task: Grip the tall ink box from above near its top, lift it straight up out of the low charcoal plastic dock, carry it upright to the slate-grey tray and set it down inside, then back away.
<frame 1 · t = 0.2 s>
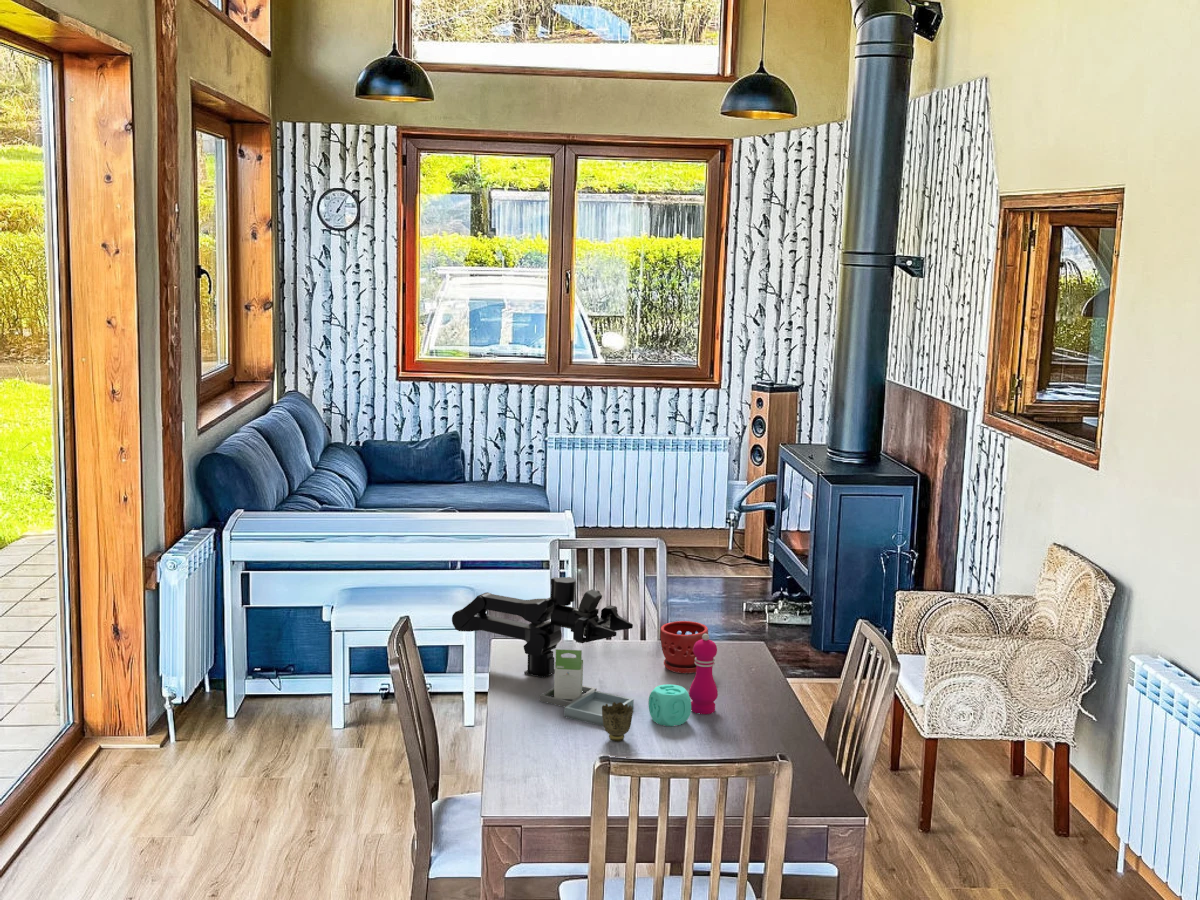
hand: (624, 630, 332), 16 cm above the table, tool horizontal, fingers open, 9 cm apart
dock: (568, 697, 328), on the table
pepper mill: (702, 710, 322), on the table
plant pot: (682, 669, 353), on the table
ink box: (568, 698, 329), resting in dock
tray: (599, 712, 318), on the table
cup: (616, 740, 301), on the table
decorative dice: (669, 721, 315), on the table
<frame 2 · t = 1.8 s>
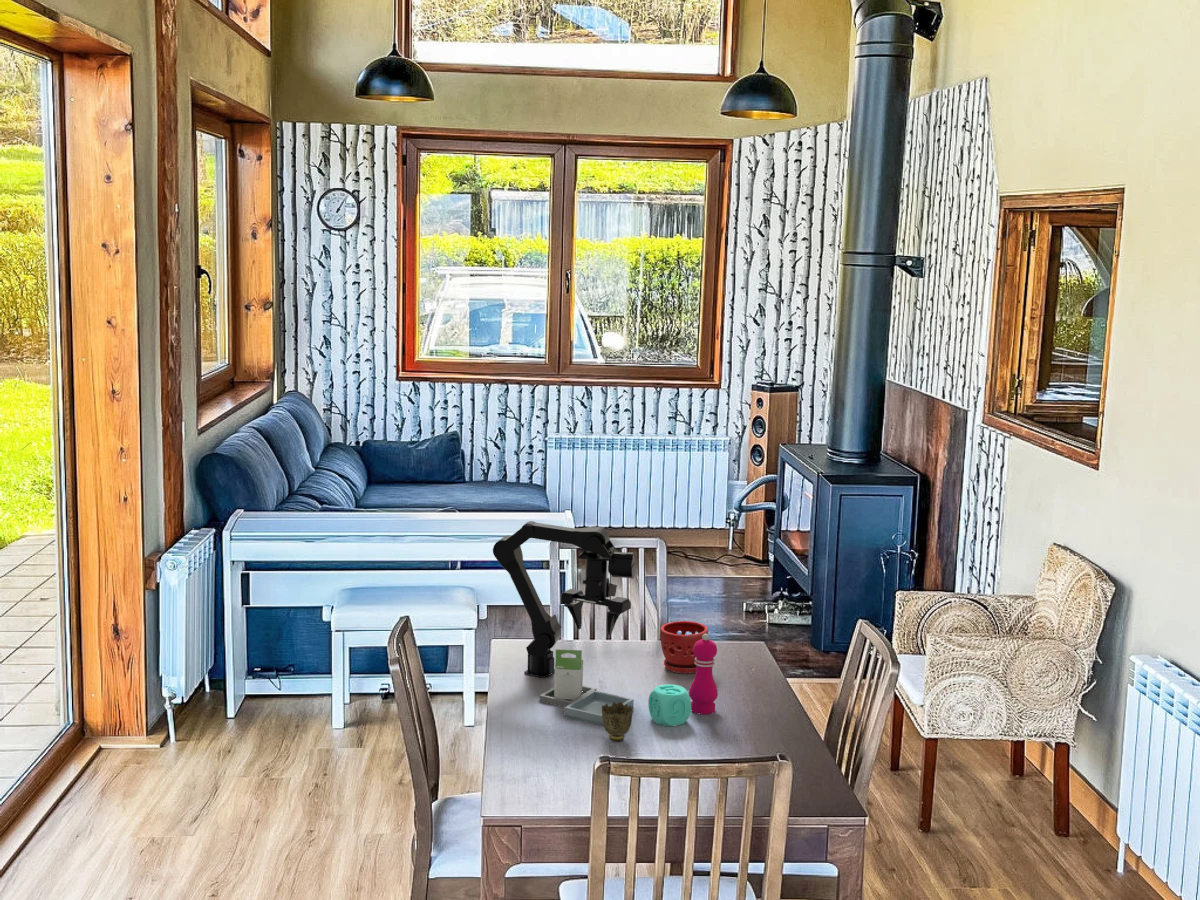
hand: (594, 631, 341), 13 cm above the table, tool pointing down, fingers open, 9 cm apart
nothing on the table moved.
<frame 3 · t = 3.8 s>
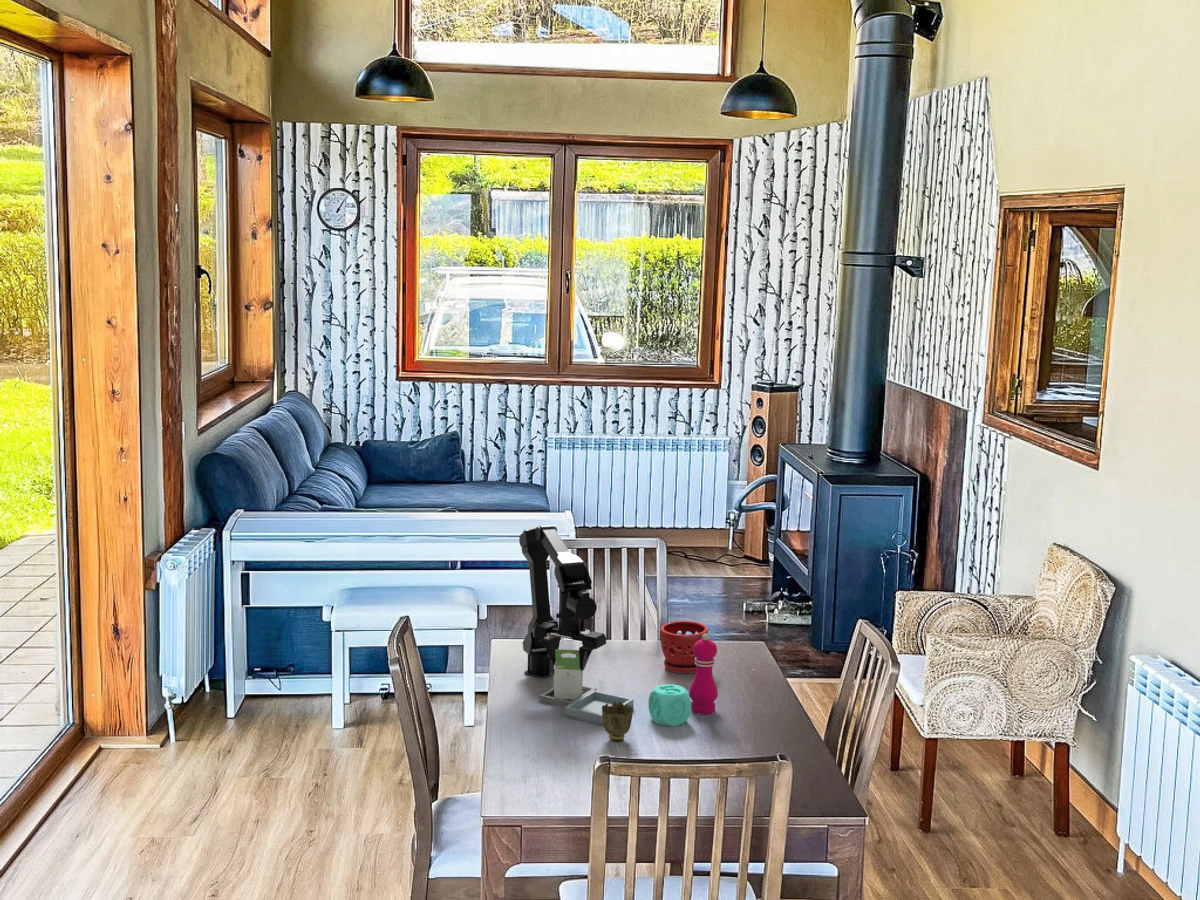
hand: (568, 667, 327), 8 cm above the table, tool pointing down, fingers closed on ink box, 8 cm apart
ink box: (568, 698, 329), resting in dock, touching gripper
everything else where it was.
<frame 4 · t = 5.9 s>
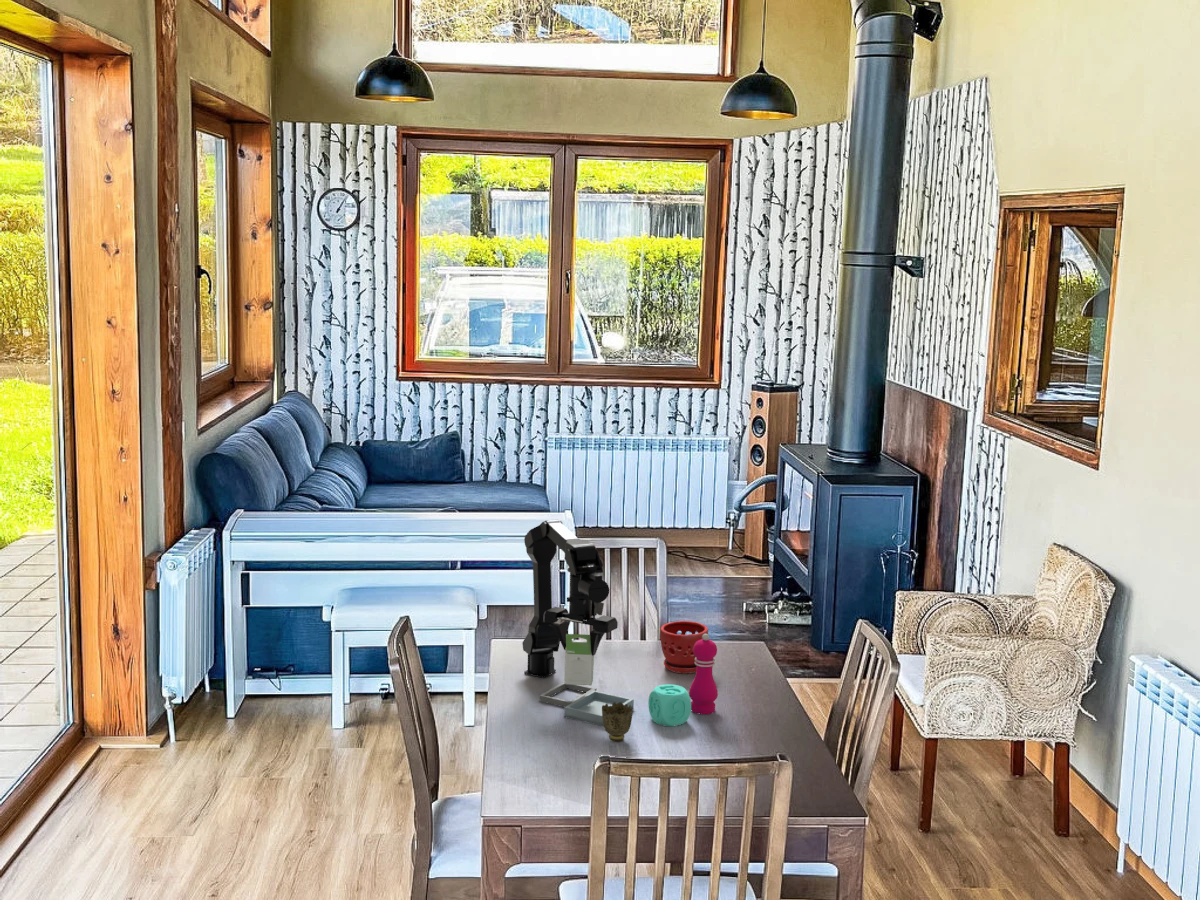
hand: (579, 652, 323), 13 cm above the table, tool pointing down, fingers closed on ink box, 8 cm apart
ink box: (578, 683, 324), point 5 cm above the table, touching gripper
everything else where it was.
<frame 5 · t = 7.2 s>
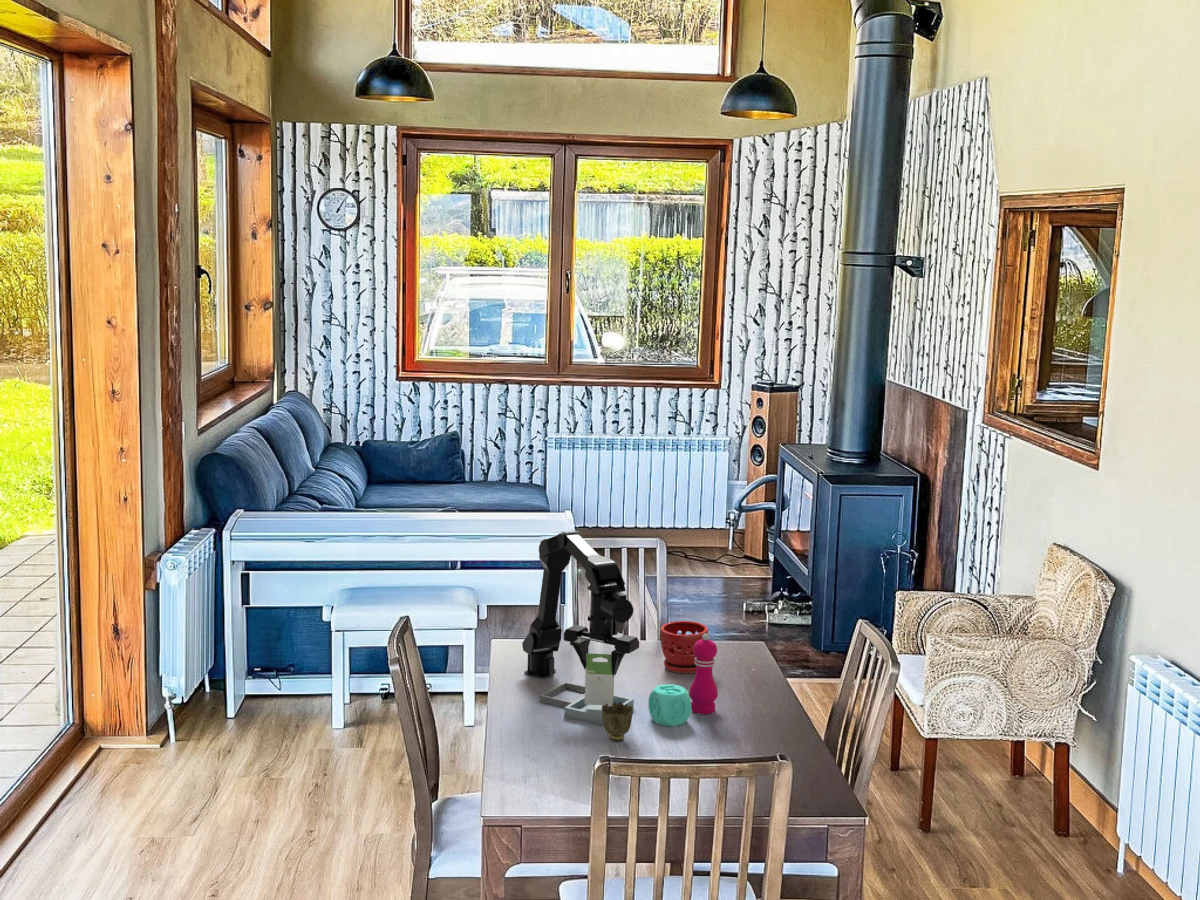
hand: (600, 672, 317), 11 cm above the table, tool pointing down, fingers closed on ink box, 8 cm apart
ink box: (599, 703, 318), point 2 cm above the table, touching gripper
everything else where it was.
when the fingers open (10 cm above the table, at t = 8.4 s): ink box stays where it is, resting on tray.
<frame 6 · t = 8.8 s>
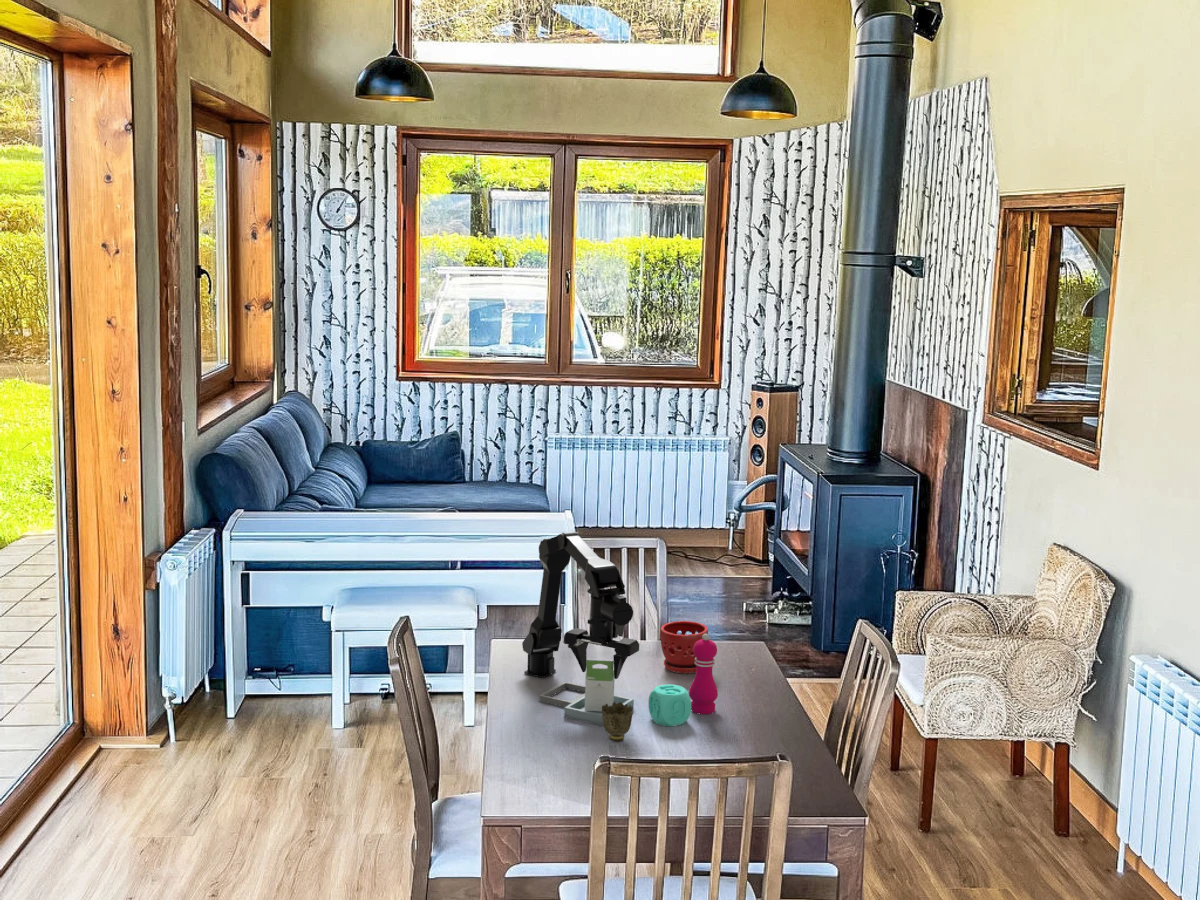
hand: (600, 675, 317), 10 cm above the table, tool pointing down, fingers open, 9 cm apart
ink box: (599, 710, 318), point 1 cm above the table, touching tray
everything else where it was.
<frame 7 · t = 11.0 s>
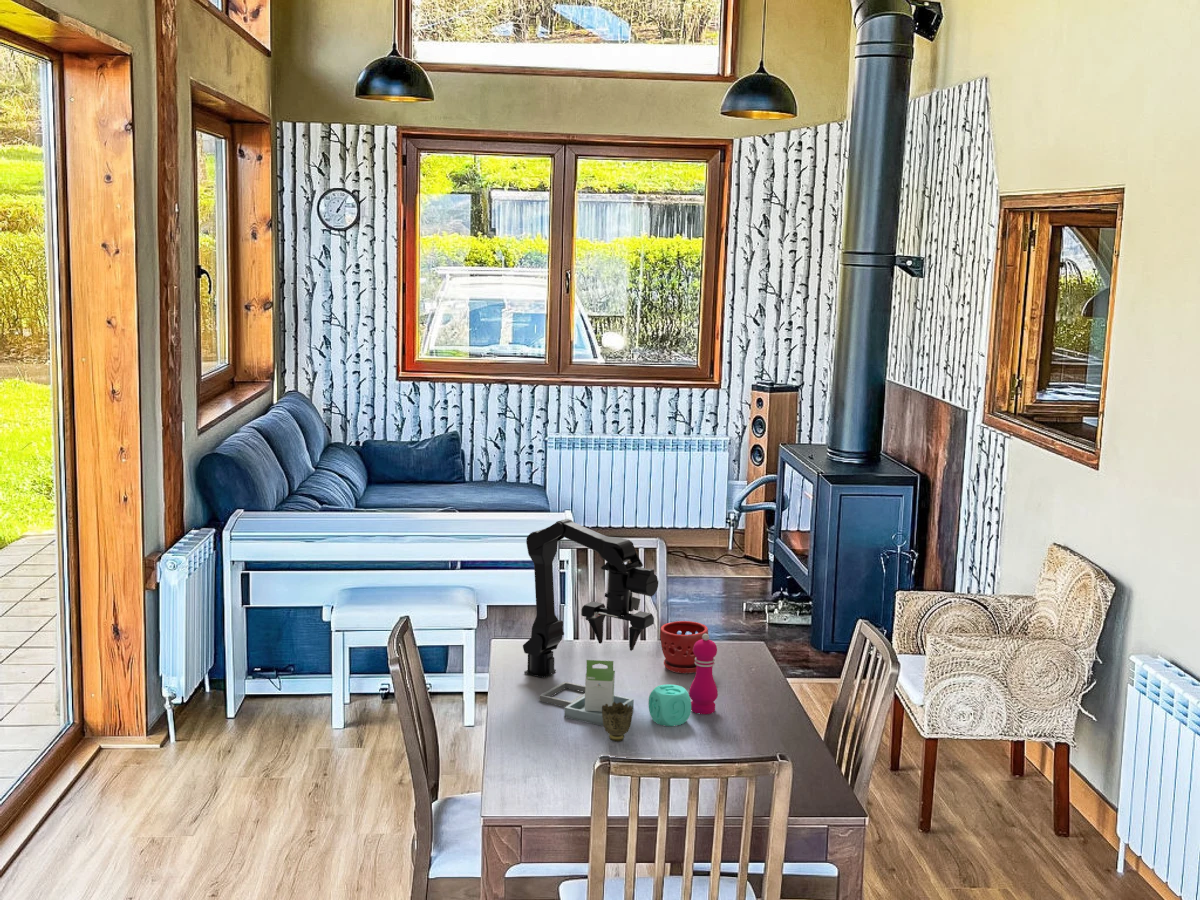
hand: (615, 646, 331), 13 cm above the table, tool pointing down, fingers open, 9 cm apart
nothing on the table moved.
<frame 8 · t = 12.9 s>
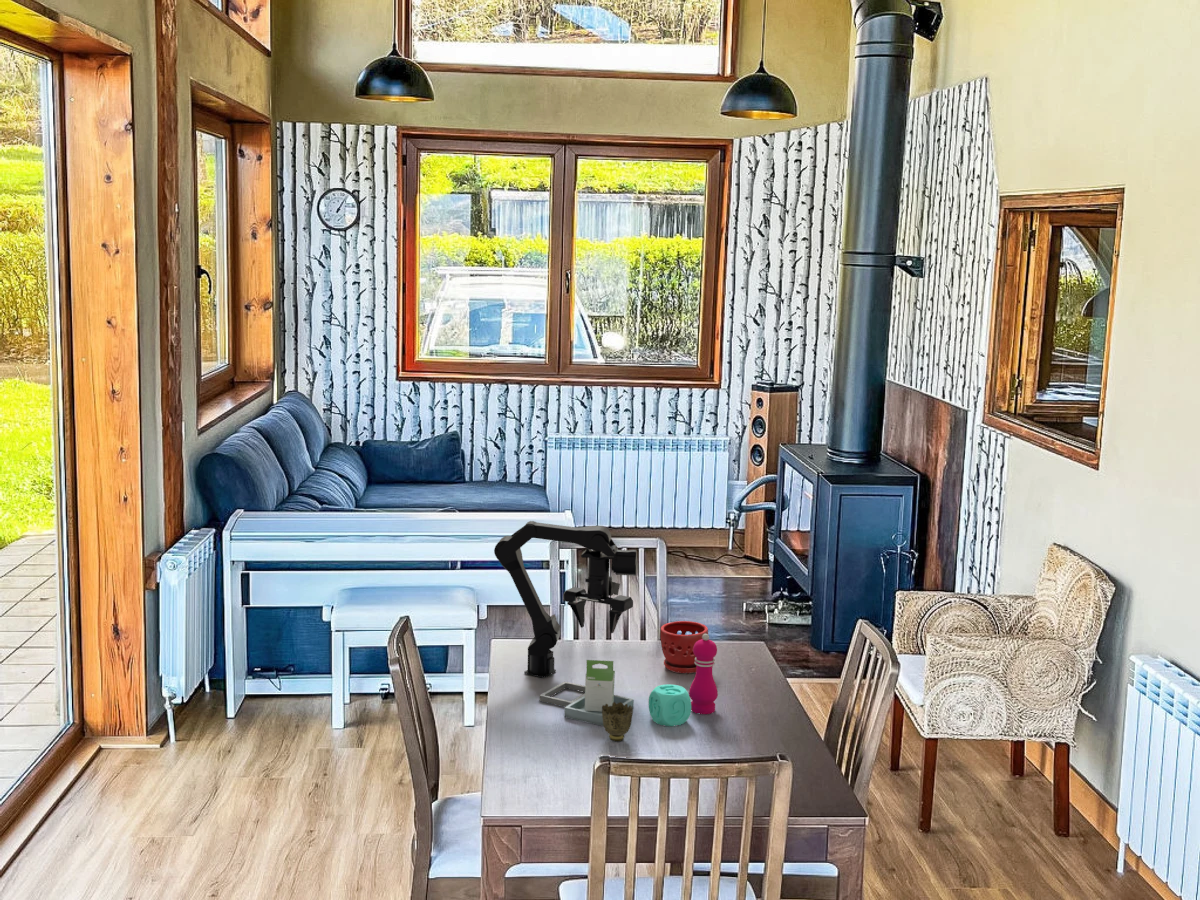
hand: (597, 630, 343), 13 cm above the table, tool pointing down, fingers open, 9 cm apart
nothing on the table moved.
at the end: ink box inside the target area on the tray (0.1 cm from its centre), point 0.6 cm above the tray's base; ink box tilted 0°; the gripper is holding nothing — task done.
